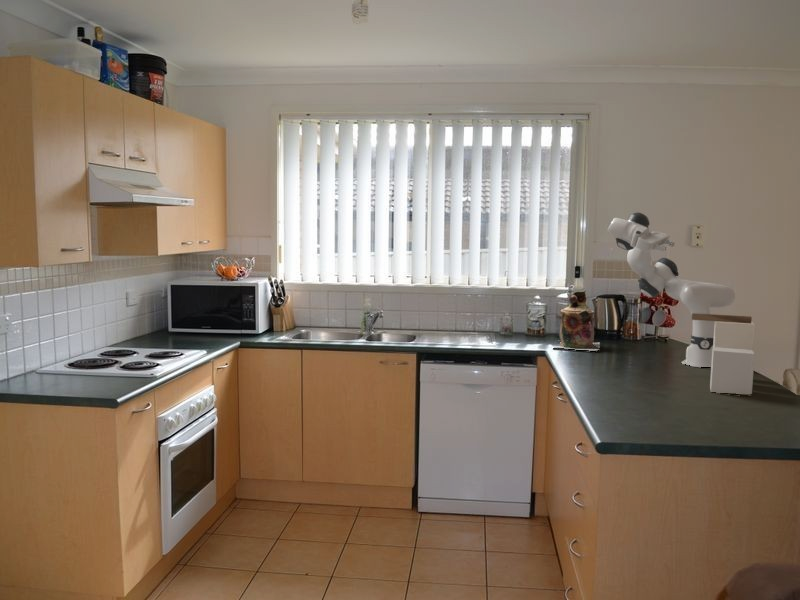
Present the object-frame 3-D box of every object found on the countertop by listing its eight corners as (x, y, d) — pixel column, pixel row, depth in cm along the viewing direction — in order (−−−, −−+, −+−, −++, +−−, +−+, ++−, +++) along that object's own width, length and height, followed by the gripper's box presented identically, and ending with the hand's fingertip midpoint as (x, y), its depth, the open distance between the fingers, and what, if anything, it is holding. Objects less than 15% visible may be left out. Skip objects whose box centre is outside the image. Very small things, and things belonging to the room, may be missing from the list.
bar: (691, 318, 275) (692, 313, 274) (750, 322, 266) (750, 316, 266) (691, 319, 272) (692, 313, 272) (751, 323, 263) (751, 317, 263)
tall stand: (710, 380, 277) (714, 319, 274) (748, 383, 271) (752, 321, 269) (711, 384, 267) (716, 322, 265) (750, 388, 262) (754, 324, 260)
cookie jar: (555, 343, 370) (557, 287, 367) (600, 346, 363) (603, 289, 360) (551, 350, 347) (553, 290, 344) (599, 353, 339) (602, 292, 336)
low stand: (709, 387, 262) (712, 347, 261) (749, 391, 257) (752, 350, 255) (710, 392, 253) (713, 350, 252) (751, 396, 248) (754, 353, 246)
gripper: (649, 237, 307) (677, 248, 299) (628, 247, 293) (657, 258, 285) (653, 225, 304) (681, 236, 296) (633, 234, 290) (662, 245, 282)
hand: (669, 247), depth 290 cm, fingers open, 8 cm apart
